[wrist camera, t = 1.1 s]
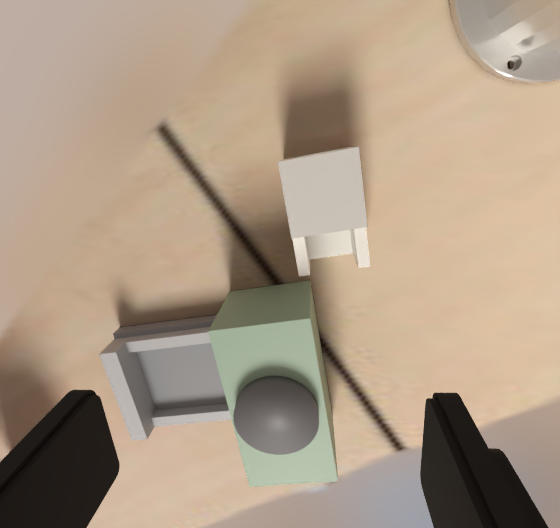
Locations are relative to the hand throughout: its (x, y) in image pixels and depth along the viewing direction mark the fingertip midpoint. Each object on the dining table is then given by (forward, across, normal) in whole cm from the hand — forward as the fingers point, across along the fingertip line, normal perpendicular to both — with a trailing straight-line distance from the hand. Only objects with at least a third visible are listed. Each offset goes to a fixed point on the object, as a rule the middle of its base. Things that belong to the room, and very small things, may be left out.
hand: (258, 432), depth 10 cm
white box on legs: (+20, -2, -3) cm, 21 cm away
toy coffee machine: (+20, +7, +11) cm, 24 cm away
